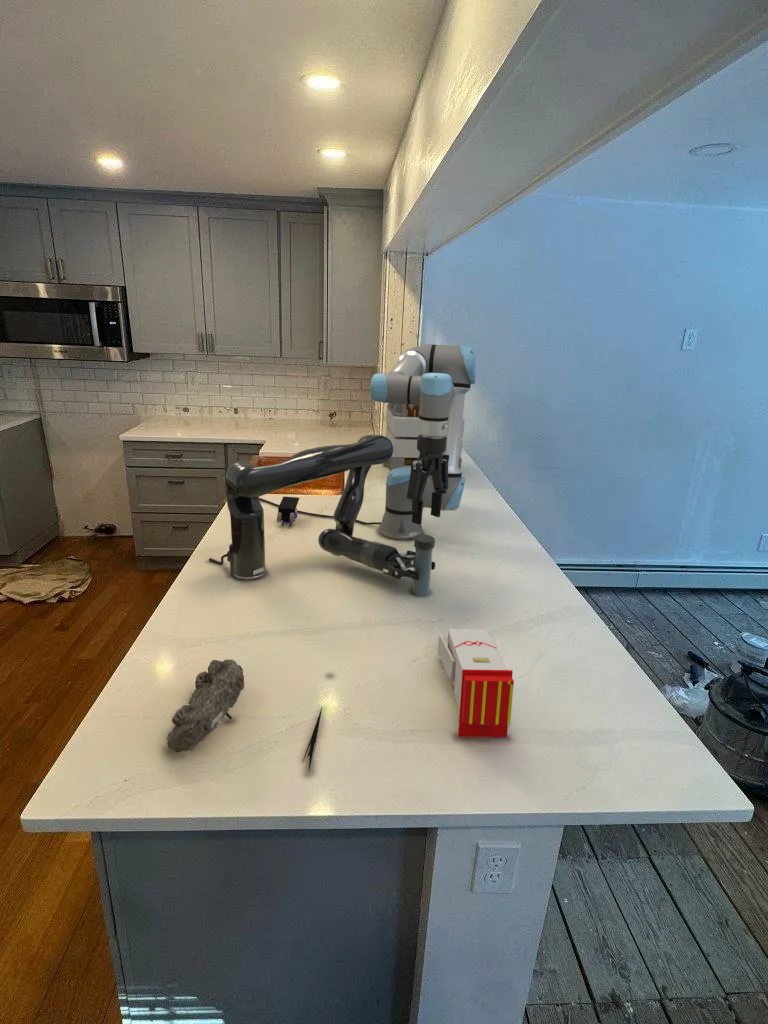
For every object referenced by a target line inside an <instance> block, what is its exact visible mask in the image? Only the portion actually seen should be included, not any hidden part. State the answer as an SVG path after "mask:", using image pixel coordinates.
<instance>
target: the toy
mask: <svg viewBox="0 0 768 1024" xmlns="http://www.w3.org/2000/svg"><path fill="white" fill-rule="evenodd" d="M446 640H447V643H446V641H445V639H444V636H443V635H442V634H439V637H438V646H437V656H438V657H439V659H440V661H441V663H442V666H443V668H444V670H445V672H446V674H447V677H448V679H449V681H450V684H451V687H452V690H453V693H454V697H455V701H456V705H457V708H458V711H459V714H458V715H459V716H458V730H457V731H458V732H457V737H458V738H508V731H509V726H510V725H511V717H512V707H513V697H514V696H513V695H514V684H515V680H514V679H513V673H514V671H513V670H512V669H508V667H507V665H506V662H505V661H504V659H503V658H502V655H501V653H500V651H499V649H498V647H497V643H496V639H495V637H494V635H493V634H491V632H490V631H489V629H467V628H466V629H465V628H463V629H461V628H460V629H459V628H448V630H447V639H446Z"/></svg>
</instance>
